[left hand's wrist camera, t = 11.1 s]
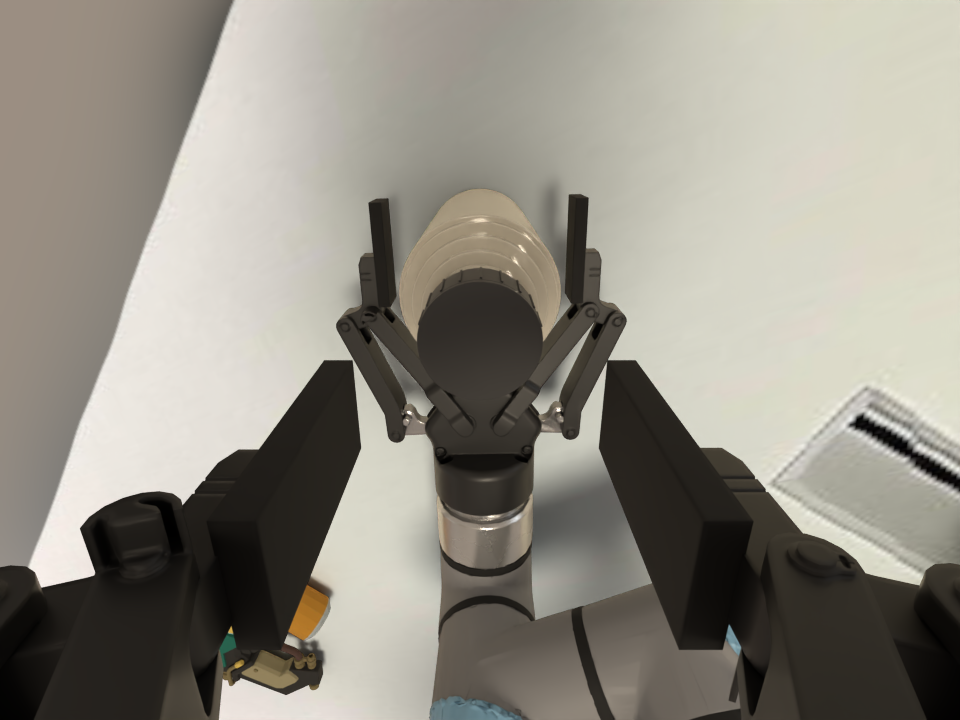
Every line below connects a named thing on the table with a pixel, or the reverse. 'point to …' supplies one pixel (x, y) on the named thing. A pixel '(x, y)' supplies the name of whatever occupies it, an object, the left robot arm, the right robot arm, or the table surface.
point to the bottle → (480, 253)
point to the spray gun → (273, 668)
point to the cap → (479, 334)
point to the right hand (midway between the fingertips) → (478, 197)
